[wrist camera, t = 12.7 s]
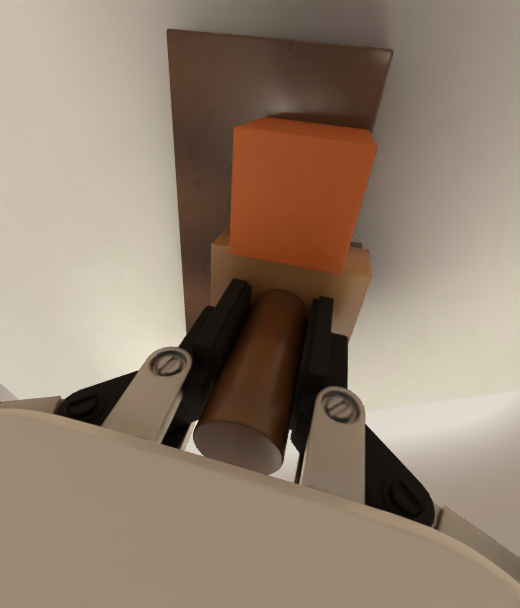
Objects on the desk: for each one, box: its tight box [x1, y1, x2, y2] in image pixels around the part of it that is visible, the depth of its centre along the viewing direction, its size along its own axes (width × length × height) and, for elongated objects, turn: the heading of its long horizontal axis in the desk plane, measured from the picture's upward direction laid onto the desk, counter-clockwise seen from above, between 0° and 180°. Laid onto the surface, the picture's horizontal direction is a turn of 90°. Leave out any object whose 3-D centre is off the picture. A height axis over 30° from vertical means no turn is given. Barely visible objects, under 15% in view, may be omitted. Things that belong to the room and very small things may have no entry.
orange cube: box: [229, 117, 377, 275], centre depth 11 cm, size 4×4×4 cm
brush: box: [193, 225, 372, 475], centre depth 11 cm, size 5×6×9 cm
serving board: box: [167, 29, 393, 333], centre depth 16 cm, size 18×8×2 cm, turn 175°
